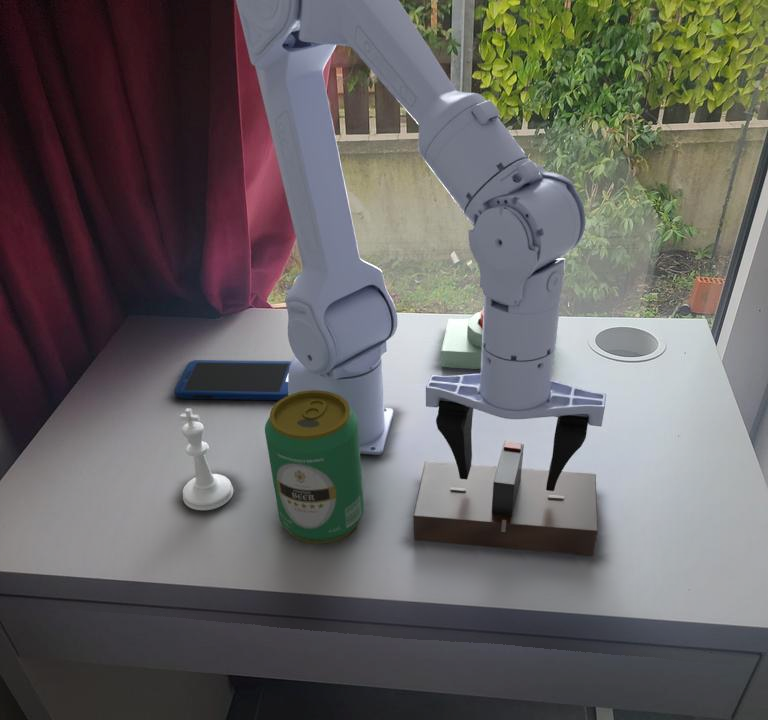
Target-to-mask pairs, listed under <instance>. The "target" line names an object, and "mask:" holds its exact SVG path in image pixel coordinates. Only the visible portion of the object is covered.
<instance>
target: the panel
mask: <svg viewBox="0 0 768 720" xmlns="http://www.w3.org/2000/svg"><path fill="white" fill-rule="evenodd" d="M423 464H424V465H423V469H422V474H421V478H420V483H419V488H418V492H417V496H416V501H415V506H414V511H413V515H412V519H413V520H412V525H413V540H414V541H418V542H419V541H420V542H428V543H429V542H430V543H442V544H454V545H465V546H474V547H475V546H476V547H485V548H486V547H488V548H496V549H497V548H498V549H499V548H500V549H511V550H520V551H521V550H523V551H532V552H533V551H534V552H544V553H555V554H556V553H557V554H566V555H577V556H578V555H579V556H591V557H593V556H594V555H595V550H596V544H597V538H598V533H599V524H598V522H599V521H598V499H597V474H596V473H592V472H591V473H590V472H576V471H563V470H562V472H561V474H560V476H559V478H558V480H557V483H556V486H555V490H554V491H548V490H546V487H547V480H548V475H549V469H534V468H523V467H522V470H521V477H520V482H519V486H518V491H517V495H516V500H515V504H514V509H513V513H512V516H506V515H499V514H492V498H493V483H494V478H495V475H496V471H497V467H498V466H493V465H482V464H481V465H480V464H471V468H470V471H469V475H468V478H467V480H466V479H460V477H459V471H458V467H457V463H451V462H439V461H426V460H425V461H424V463H423Z"/></svg>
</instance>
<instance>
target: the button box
mask: <svg viewBox="0 0 768 720" xmlns="http://www.w3.org/2000/svg"><path fill="white" fill-rule="evenodd" d="M480 323H481V311H478V312H475V313H474V314H472V315H471V316H470V317H468V318H455V317H454V318H453V317H452V318H451V317H449V318H448V319H447V324H446V329H445V332H444V337H443V341H442V346H441V350H440V367H441V368H454V369H472V370H473V369H474V370H475V369H476V370H481V352H482V332H483V329H482V328H481V326H480Z"/></svg>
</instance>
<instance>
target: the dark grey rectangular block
mask: <svg viewBox="0 0 768 720" xmlns="http://www.w3.org/2000/svg"><path fill="white" fill-rule="evenodd" d="M524 448H525V444H524V443H523V442H519V441H512V440H511V441H510V440H504V441H503V443H502V448H501V452H500V456H499V460H498V463H497V464H498V465H497V466H496V467H497V471H496V475H495V478H494V483H493V498H492V514H499V515H506V516H512V513H513V509H514V504H515V500H516V495H517V491H518V486H519V482H520V477H521V470H522V468H523V459H524V458H523V457H524Z"/></svg>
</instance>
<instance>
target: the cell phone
mask: <svg viewBox="0 0 768 720" xmlns="http://www.w3.org/2000/svg"><path fill="white" fill-rule="evenodd" d="M291 361H292V360H224V359H223V360H219V359H217V360H214V359H205V360H204V359H195V360H191V361H189V362H188V363H187V364H186V366H185V368H184V371H183V372H182V374H181V376H180V378H179V380H178V382H177V384H176V386H175V387H174V391H173V392H174V396H175V397H176V398H179V399H182V400H183V399H186V400H187V399H191V400H193V399H194V400H248V401H249V400H255V401H280V400H281V399H282V398H284V397H286V396H288V376H289V369H290V364H291Z"/></svg>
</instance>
